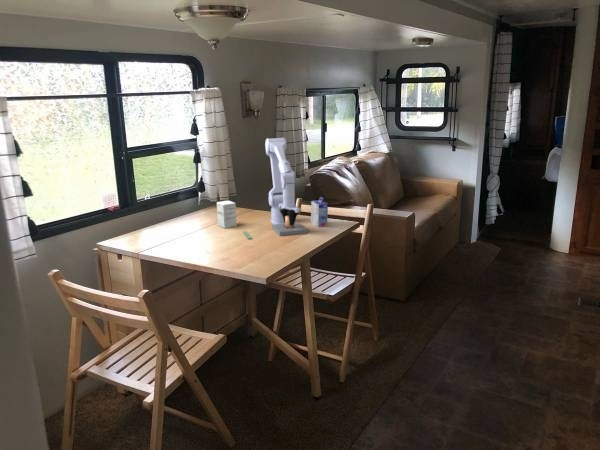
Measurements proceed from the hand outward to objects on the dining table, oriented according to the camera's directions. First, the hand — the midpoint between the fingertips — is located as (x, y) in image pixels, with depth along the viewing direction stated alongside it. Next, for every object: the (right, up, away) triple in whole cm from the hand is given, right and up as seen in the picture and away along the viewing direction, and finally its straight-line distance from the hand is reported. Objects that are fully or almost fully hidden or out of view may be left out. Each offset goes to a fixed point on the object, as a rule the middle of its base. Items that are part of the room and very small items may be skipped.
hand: (289, 224), depth 241 cm
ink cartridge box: (+15, -1, +12) cm, 19 cm away
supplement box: (-32, -1, +13) cm, 35 cm away
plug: (0, -3, +1) cm, 3 cm away
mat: (-15, -5, -3) cm, 17 cm away
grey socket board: (0, -4, +1) cm, 4 cm away
